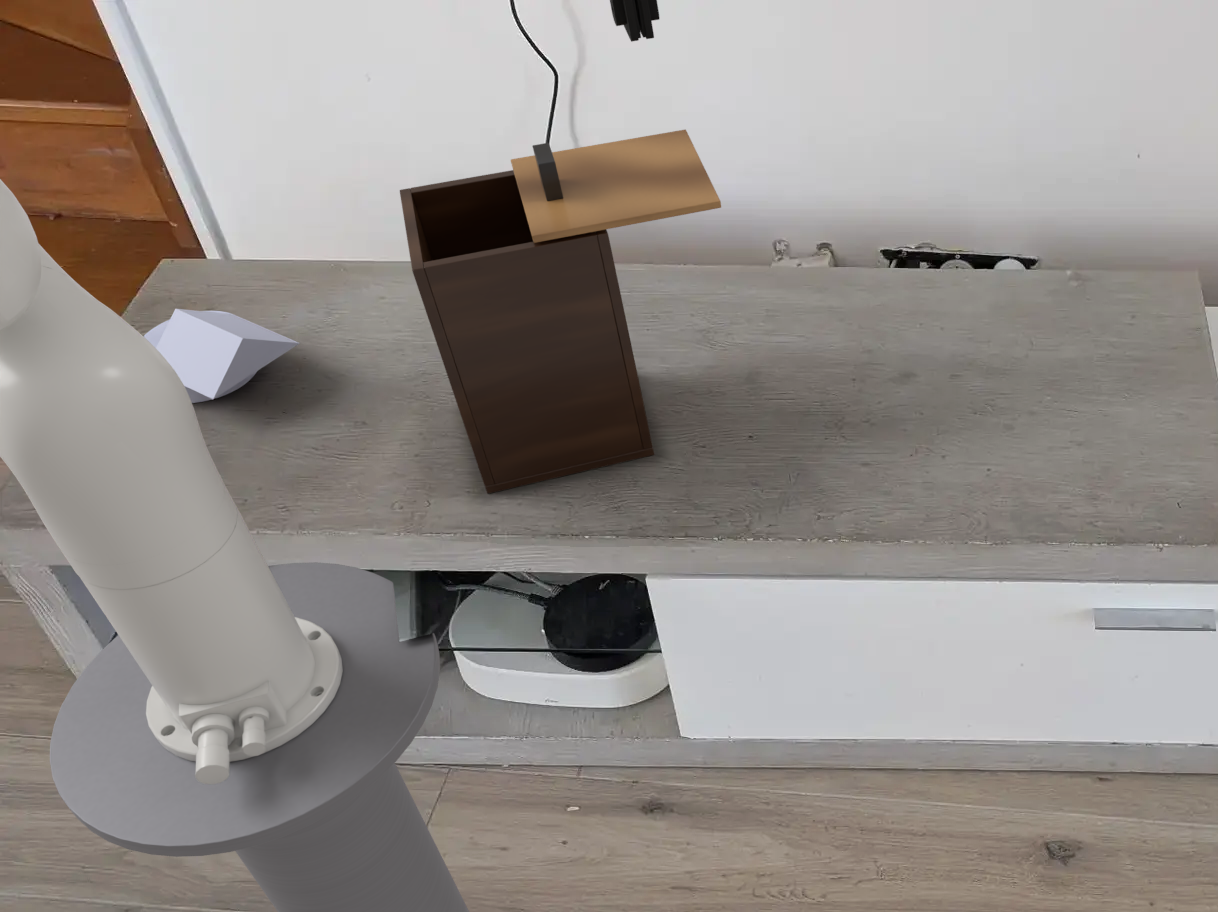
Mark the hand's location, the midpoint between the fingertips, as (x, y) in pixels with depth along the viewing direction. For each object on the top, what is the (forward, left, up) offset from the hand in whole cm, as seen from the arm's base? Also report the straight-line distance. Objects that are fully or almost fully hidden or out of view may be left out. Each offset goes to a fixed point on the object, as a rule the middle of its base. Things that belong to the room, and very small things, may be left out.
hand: (638, 31), depth 93 cm
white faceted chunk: (+18, +39, -33) cm, 54 cm away
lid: (0, +4, -11) cm, 12 cm away
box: (0, +12, -33) cm, 35 cm away
